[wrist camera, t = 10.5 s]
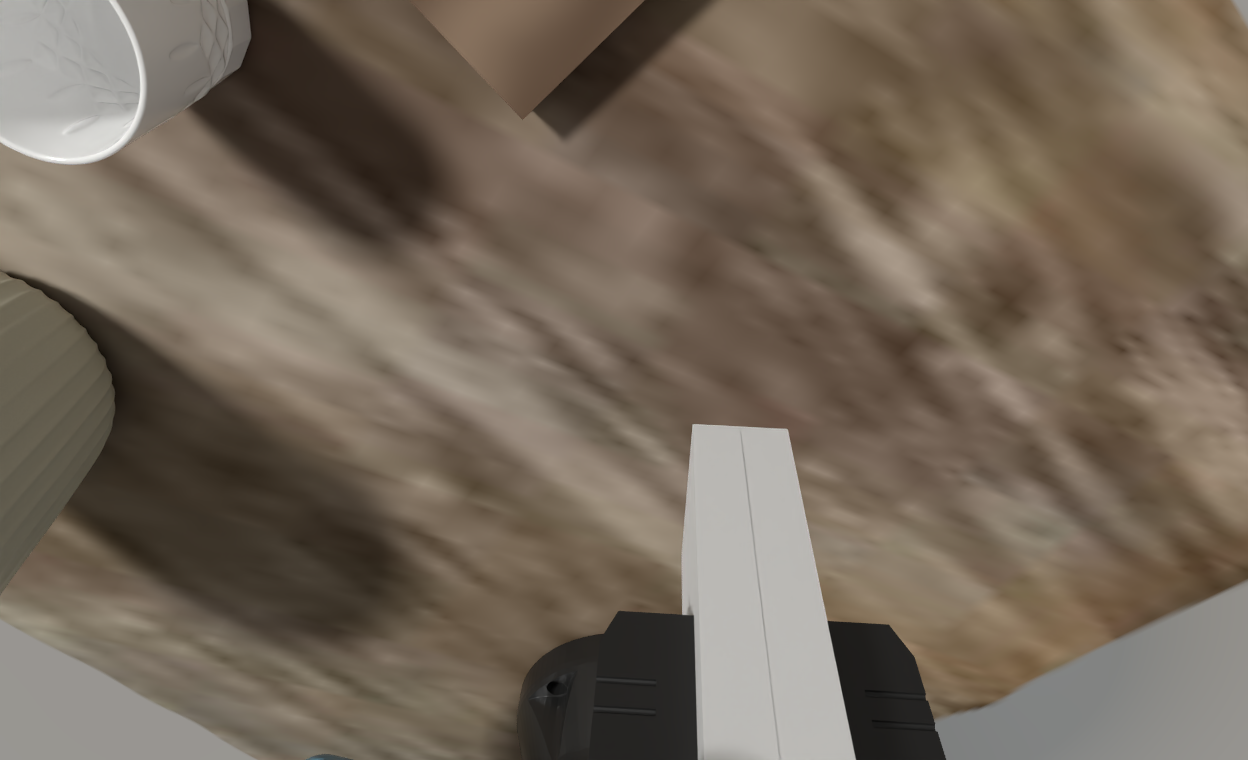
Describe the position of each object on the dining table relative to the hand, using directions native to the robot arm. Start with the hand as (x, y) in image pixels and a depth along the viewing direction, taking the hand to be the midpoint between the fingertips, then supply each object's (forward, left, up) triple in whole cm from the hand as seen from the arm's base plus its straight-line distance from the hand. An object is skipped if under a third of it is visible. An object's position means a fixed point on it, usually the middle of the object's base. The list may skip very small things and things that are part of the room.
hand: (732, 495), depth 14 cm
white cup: (+2, +23, -29) cm, 37 cm away
